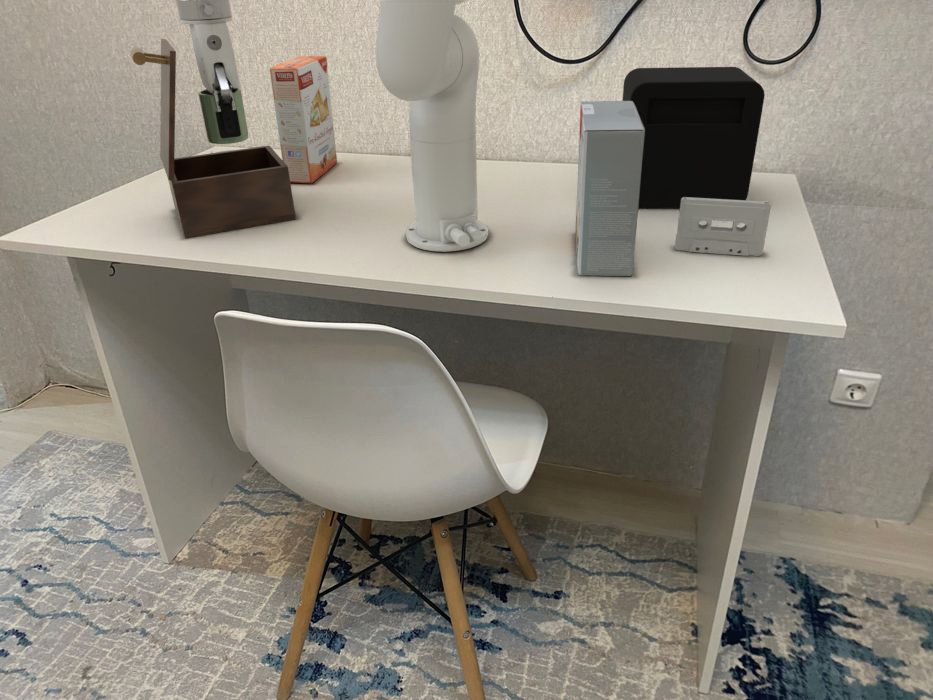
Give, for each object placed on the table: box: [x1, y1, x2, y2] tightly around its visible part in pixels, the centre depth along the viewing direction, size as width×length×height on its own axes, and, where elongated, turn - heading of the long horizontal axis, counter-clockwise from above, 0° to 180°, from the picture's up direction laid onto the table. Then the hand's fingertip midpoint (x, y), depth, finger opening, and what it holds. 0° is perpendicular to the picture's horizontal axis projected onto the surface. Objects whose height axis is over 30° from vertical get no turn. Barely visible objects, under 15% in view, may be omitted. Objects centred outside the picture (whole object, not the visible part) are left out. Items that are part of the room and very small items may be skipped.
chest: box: [167, 145, 297, 239], centre depth 124 cm, size 18×15×9 cm
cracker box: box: [269, 55, 338, 184], centre depth 140 cm, size 14×6×21 cm, turn 168°
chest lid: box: [130, 38, 177, 181], centre depth 113 cm, size 19×15×5 cm
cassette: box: [674, 197, 772, 257], centre depth 104 cm, size 12×2×8 cm, turn 75°
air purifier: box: [621, 66, 765, 209], centre depth 123 cm, size 20×15×20 cm
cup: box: [197, 86, 249, 145], centre depth 118 cm, size 6×6×8 cm
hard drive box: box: [575, 100, 645, 277], centre depth 101 cm, size 16×8×20 cm, turn 174°
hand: (227, 131), depth 119 cm, fingers closed on cup, 6 cm apart
